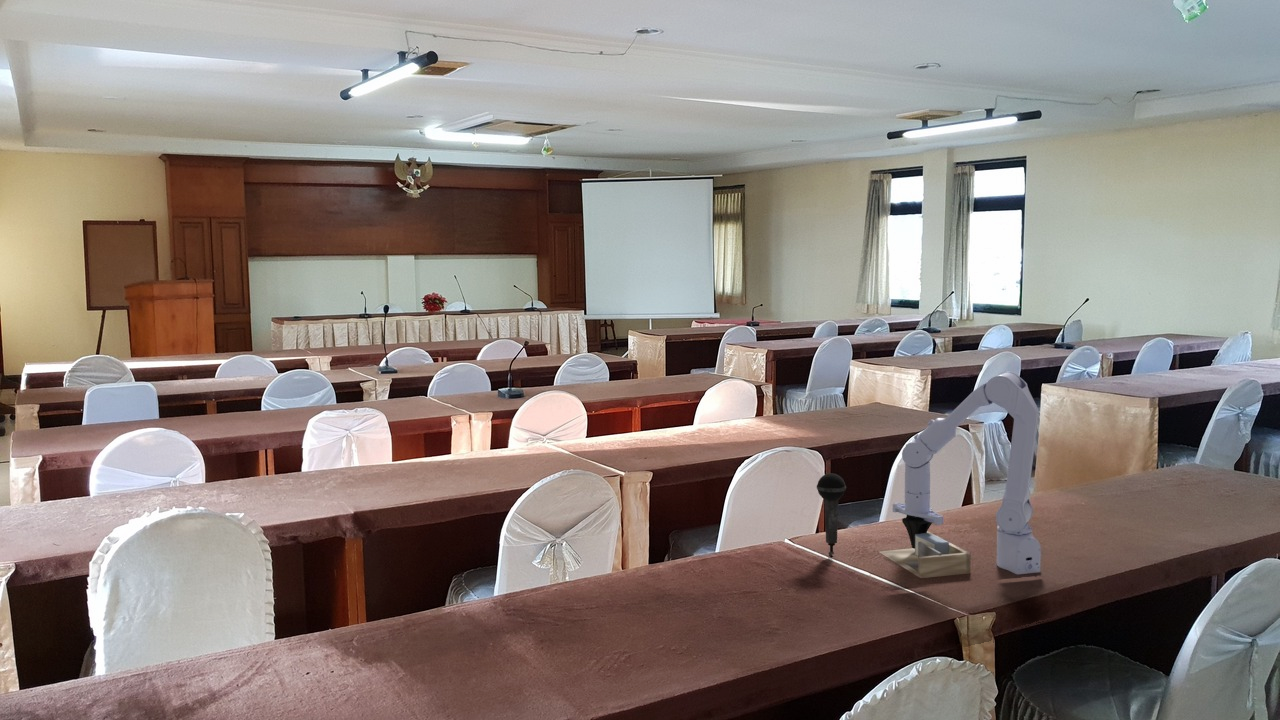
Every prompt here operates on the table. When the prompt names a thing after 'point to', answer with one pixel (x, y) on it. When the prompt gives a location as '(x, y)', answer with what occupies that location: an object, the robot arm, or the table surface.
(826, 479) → the microphone
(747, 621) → the table surface
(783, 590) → the table surface
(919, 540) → the grey-blue block
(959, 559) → the wooden open box
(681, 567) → the table surface
